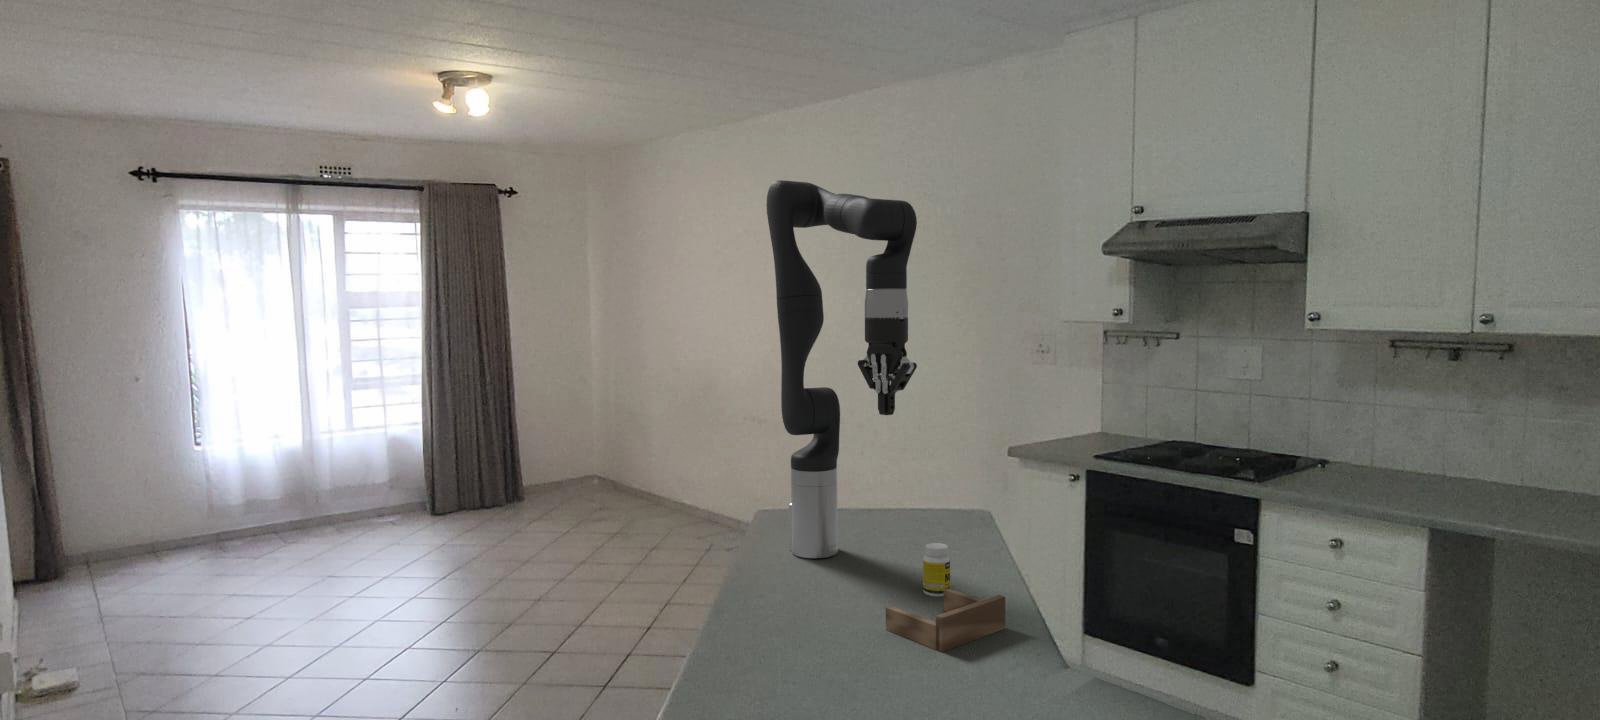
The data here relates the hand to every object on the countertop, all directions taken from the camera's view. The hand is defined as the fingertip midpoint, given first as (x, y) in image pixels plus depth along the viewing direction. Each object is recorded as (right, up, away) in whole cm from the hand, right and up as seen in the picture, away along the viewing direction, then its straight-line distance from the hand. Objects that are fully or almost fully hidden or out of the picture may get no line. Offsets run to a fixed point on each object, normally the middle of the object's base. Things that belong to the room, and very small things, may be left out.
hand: (886, 414), depth 148 cm
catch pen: (+7, -32, -17) cm, 37 cm away
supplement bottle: (+9, -32, +1) cm, 33 cm away
